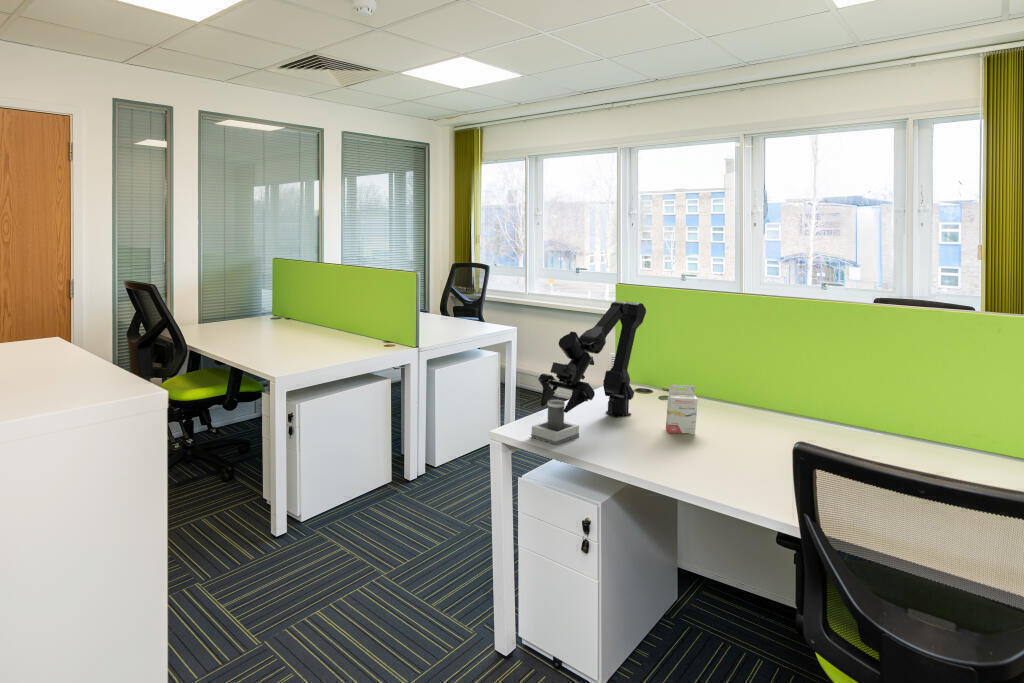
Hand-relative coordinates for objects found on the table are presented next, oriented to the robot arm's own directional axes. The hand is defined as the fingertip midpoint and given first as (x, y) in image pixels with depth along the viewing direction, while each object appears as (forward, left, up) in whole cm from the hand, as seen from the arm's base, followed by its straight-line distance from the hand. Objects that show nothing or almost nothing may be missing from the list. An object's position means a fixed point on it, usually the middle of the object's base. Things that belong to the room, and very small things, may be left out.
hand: (553, 408), depth 187 cm
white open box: (-1, 0, -9) cm, 9 cm away
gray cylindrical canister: (-1, 0, -8) cm, 8 cm away
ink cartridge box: (-40, +13, -9) cm, 43 cm away
